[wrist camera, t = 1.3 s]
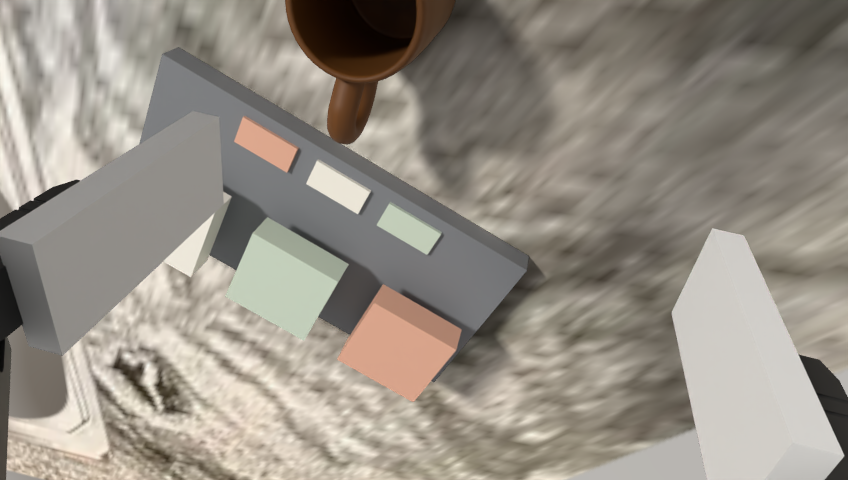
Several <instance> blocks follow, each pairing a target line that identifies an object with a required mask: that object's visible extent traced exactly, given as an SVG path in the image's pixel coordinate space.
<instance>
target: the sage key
mask: <svg viewBox="0 0 848 480" xmlns="http://www.w3.org/2000/svg"><path fill="white" fill-rule="evenodd" d="M348 265H349V264H348V263H346V262H344V261H342V260H341V259H339V258H337V257H336V256H334V255H332V254H330V253H329V252H327V251H325V250H323V249H322V248H320V247H318V246H317V245H315V244H313V243H311V242H310V241H308V240H306V239H304V238H303V237H301V236H299V235H298V234H296V233H294V232H292V231H291V230H289V229H287V228H285V227H284V226H282V225H280V224H279V223H277V222H275V221H273V220H272V219H270V218H268V217H267V218H266V219H265V220H264V221H263V222H262V223H261V225H260V226H259V227H258V228H257V229H256V230H255V231H254V232H253V233H252V236H251V238H250V240H249V243H248V245H247V247H246V250H245V252H244V254H243V256H242V259H241V261H240V263H239V266H238V268H237V270H236V273H235V275H234V277H233V280H232V282H231V284H230V287H229V289H228V291H227V293H226V296H225V297H227V298H229V299H231V300H232V301H234V302H236V303H238V304H239V305H241V306H243V307H245V308H247V309H248V310H250V311H252V312H254V313H255V314H257V315H259V316H261V317H263V318H264V319H266V320H268V321H270V322H272V323H273V324H275V325H277V326H279V327H280V328H282V329H284V330H286V331H288V332H289V333H291V334H293V335H295V336H296V337H298V338H300V339H302V340H305V338H306V337H307V335H308V333H309V332H310V330H311V328H312V327H313V325H314V323H315V322H316V320H317V318H318V316H319V315H320V313H321V311H322V310H323V308H324V306H325V304H326V303H327V301H328V299H329V297H330V296H331V294H332V292H333V291H334V289H335V287H336V285H337V284H338V282H339V280H340V279H341V277H342V275H343V273H344V272H345V270H346V268H347V267H348Z"/></svg>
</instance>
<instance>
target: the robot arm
mask: <svg viewBox="0 0 848 480" xmlns="http://www.w3.org/2000/svg"><path fill="white" fill-rule="evenodd" d="M223 205H224V197H223V179H222V161H221V143H220V125H219V117H217V116H213V115H208V114H204V113H199V112H195V111H192V112H191V113H189V114H187V115H186V116H184V117H183V118H181V119H179V120H178V121H176V122H174V123H173V124H171V125H170V126H168V127H166V128H165V129H163V130H162V131H160V132H158V133H157V134H155V135H154V136H152V137H150V138H149V139H147V140H145V141H144V142H142V143H141V144H139V145H137V146H136V147H134V148H133V149H131V150H129V151H128V152H126V153H125V154H123V155H121V156H120V157H118V158H117V159H115V160H113V161H112V162H110V163H108V164H107V165H105V166H104V167H102V168H100V169H99V170H97V171H96V172H94V173H92V174H91V175H89V176H88V177H86V178H84V179H83V180H81V181H80V180H74V181H71V182H68V183H65V184H61V185H58V186H55V187H52V188H51V189H49V190H47V191H46V192H44V193H42V194H41V195H39V196H37V197H36V198H34V201H29V202H27V203H26V204H24V205H22V206H21V207H19V210H14V211H12V212H11V213H9V214H7V215H6V216H4V217H2V218H1V219H0V480H6V464H7V440H8V417H9V393H10V391H9V390H10V369H11V347H10V344H9V341H8V338H7V336H8V335H10V334H11V333H12V332H13V331H15V330H16V329H17V328H18V327H20V325H22V326H23V329H24V332H25V336H26V339H27V342H28V345H29V346H30V347H33V348H37V349H40V350H44V351H48V352H51V353H55V354H58V355H62V356H63V355H64V354H65V353H66V352H67V351H68V350H69V349H70V348H71V347H72V346H73V345H74V344H75V343H77V342H78V341H79V340H80V339H81V338H82V337H83V336H84V335H85V334H86V333H87V332H88V331H89V330H90V329H91V328H93V327H94V326H95V325H96V324H97V323H98V322H99V321H100V320H101V319H102V318H103V317H104V316H105V315H106V314H107V313H108V312H110V311H111V310H112V309H113V308H114V307H115V306H116V305H117V304H118V303H119V302H120V301H121V300H122V299H123V298H124V297H126V296H127V295H128V294H129V293H130V292H131V291H132V290H133V289H134V288H135V287H136V286H137V285H138V284H139V283H140V282H142V281H143V280H144V279H145V278H146V277H147V276H148V275H149V274H150V273H151V272H152V271H153V270H154V269H155V268H156V267H158V266H159V265H160V264H161V263H162V262H163V261H164V260H165V259H166V258H167V257H168V256H169V255H170V254H171V253H172V252H173V251H175V250H176V249H177V248H178V247H179V246H180V245H181V244H182V243H183V242H184V241H185V240H186V239H187V238H188V237H189V236H191V235H192V234H193V233H194V232H195V231H196V230H197V229H198V228H199V227H200V226H201V225H202V224H203V223H204V222H205V221H207V220H208V219H209V218H210V217H211V216H212V215H213V214H214V213H215V212H216V211H217V210H218V209H219V208H220V207H221V206H223ZM672 318H673V322H674V327H675V332H676V337H677V341H678V346H679V351H680V355H681V360H682V365H683V370H684V374H685V379H686V384H687V389H688V393H689V398H690V403H691V407H692V412H693V417H694V422H695V426H696V431H697V435H698V440H699V445H700V450H701V455H702V459H703V464H704V469H705V473H706V478H707V480H848V397H847V395H846V393H845V391H844V389H843V387H842V385H841V383H840V381H839V380H838V379H837V378H836V377H835V376H834V375H833V374H832V373H831V371H830V370H829V369H828V368H827V367H826V366H825V365H824V364H823V363H822V362H821V361H820V360H818V359H814V358H810V357H806V356H802V355H798V353H797V351H796V348H795V346H794V344H793V342H792V340H791V337H790V335H789V333H788V331H787V329H786V326H785V324H784V322H783V320H782V318H781V316H780V313H779V311H778V309H777V307H776V305H775V302H774V300H773V298H772V296H771V294H770V291H769V289H768V287H767V285H766V283H765V280H764V278H763V276H762V274H761V272H760V269H759V267H758V265H757V263H756V261H755V259H754V256H753V254H752V252H751V250H750V248H749V245H748V243H747V241H746V239H745V237H744V235H740V234H735V233H731V232H727V231H722V230H718V229H713V228H712V230H711V232H710V234H709V236H708V238H707V240H706V242H705V244H704V246H703V248H702V251H701V253H700V255H699V257H698V259H697V261H696V263H695V265H694V267H693V269H692V271H691V273H690V275H689V277H688V279H687V282H686V284H685V286H684V288H683V290H682V292H681V294H680V296H679V298H678V300H677V302H676V304H675V306H674V308H673V311H672Z"/></svg>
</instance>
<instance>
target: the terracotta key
mask: <svg viewBox="0 0 848 480" xmlns="http://www.w3.org/2000/svg"><path fill="white" fill-rule="evenodd" d="M461 330H462V329H460V328H458V327H457V326H455V325H453V324H451V323H450V322H448V321H446V320H445V319H443V318H441V317H439V316H438V315H436V314H434V313H432V312H431V311H429V310H427V309H425V308H424V307H422V306H420V305H419V304H417V303H415V302H413V301H412V300H410V299H408V298H406V297H405V296H403V295H401V294H400V293H398V292H396V291H394V290H393V289H391V288H389V287H387V286H386V285H384V284H383V285H382V287H381V288H380V290H379V291H378V293H377V294H376V296H375V297H374V299H373V301H372V302H371V304H370V305H369V307H368V308H367V310H366V311H365V313H364V314H363V316H362V318H361V319H360V321H359V322H358V324H357V325H356V327H355V328H354V330H353V331H352V333H351V335H350V336H349V338H348V339H347V341H346V343H345V345H344V347H343V349H342V351H341V353H340V355H339V357H338V359H337V360H339V361H341V362H343V363H344V364H346V365H348V366H350V367H352V368H353V369H355V370H357V371H359V372H360V373H362V374H364V375H366V376H368V377H369V378H371V379H373V380H375V381H376V382H378V383H380V384H382V385H384V386H385V387H387V388H389V389H391V390H392V391H394V392H396V393H398V394H400V395H401V396H403V397H405V398H407V399H408V400H410V401H412V402H414V401H415V399H416V398H417V397H418V396H419V395H420V393H421V392H422V391H423V390H424V389H425V387H426V386H427V385H428V384H429V383H430V381H431V380H432V379H433V378H434V376H435V375H436V374H437V373H438V372H439V370H440V369H441V368H442V367H443V366H444V364H445V363H446V362H447V361H448V360H449V358H450V357H451V356H452V355H453V353H454V352H455V351H456V349H457V346H458V342H459V338H460V334H461Z"/></svg>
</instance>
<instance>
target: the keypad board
mask: <svg viewBox="0 0 848 480" xmlns="http://www.w3.org/2000/svg"><path fill="white" fill-rule="evenodd" d="M192 111H195V112H199V113H204V114H208V115H213V116H217V117H219V125H220V143H221V161H222V179H223V192H225V193H227V194H228V195H230V196H232V198H231V200H230V203H229V205H228V208H227V210H226V213H225V216H224V218H223V221H222V223H221V226H220V229H219V231H218V234H217V236H216V239H215V241H214V244H213V247H212V249H211V252H210V254H209V255H211V256H212V257H214V258H216V259H218V260H219V261H221V262H223V263H225V264H227V265H228V266H230V267H232V268H234V269H235V270H237V268H238V266H239V263H240V261H241V259H242V256H243V254H244V252H245V250H246V247H247V245H248V243H249V240H250V238H251V236H252V233H253V232H254V231H255V230H256V229H257V228H258V227H259V226H260V225H261V223H262V222H263V221H264V220H265V219H266V218H267V217H268V218H270V219H272V220H273V221H275V222H277V223H279V224H280V225H282V226H284V227H285V228H287V229H289V230H291V231H292V232H294V233H296V234H298V235H299V236H301V237H303V238H304V239H306V240H308V241H310V242H311V243H313V244H315V245H317V246H318V247H320V248H322V249H323V250H325V251H327V252H329V253H330V254H332V255H334V256H336V257H337V258H339V259H341V260H342V261H344V262H346V263H348V264H349V265H348V267H347V268H346V270H345V272H344V273H343V275H342V277H341V279H340V280H339V282H338V284H337V285H336V287H335V289H334V291H333V292H332V294H331V296H330V297H329V299H328V301H327V303H326V304H325V306H324V308H323V310H322V311H321V313H320V315H319V316H318V317H320V318H322V319H323V320H325V321H327V322H329V323H330V324H332V325H334V326H336V327H338V328H339V329H341V330H343V331H345V332H346V333H348V334H350V335H351V333H352V331H353V330H354V328H355V327H356V325H357V324H358V322H359V321H360V319H361V318H362V316H363V314H364V313H365V311H366V310H367V308H368V307H369V305H370V304H371V302H372V301H373V299H374V297H375V296H376V294H377V293H378V291H379V290H380V288H381V287H382V285H383V284H384V285H386V286H387V287H389V288H391V289H393V290H394V291H396V292H398V293H400V294H401V295H403V296H405V297H406V298H408V299H410V300H412V301H413V302H415V303H417V304H419V305H420V306H422V307H424V308H425V309H427V310H429V311H431V312H432V313H434V314H436V315H438V316H439V317H441V318H443V319H445V320H446V321H448V322H450V323H451V324H453V325H455V326H457V327H458V328H460V329H462V330H461V334H460V338H459V342H458V346H457V349H456V351H455V352H454V353H453V355H452V356H451V357H450V358H449V360H448V361H447V362H446V363H445V364H444V366H443V367H442V368H441V369H440V370H439V372H438V373H437V374H436V375H435V376H434V378H433V379H432V380H431V381H433V382H435V380H436V379H437V378H438V377H439V376H440V374H441V373H442V372H443V371H444V370H445V368H446V367H447V366H448V365H449V364H450V362H451V361H452V360H453V359H454V358H455V356H456V355H457V354H458V353H459V352H460V350H461V349H462V348H463V347H464V346H465V344H466V343H467V342H468V341H469V340H470V338H471V337H472V336H473V335H474V334H475V332H476V331H477V330H478V329H479V328H480V326H481V325H482V324H483V323H484V322H485V320H486V319H487V318H488V317H489V316H490V314H491V313H492V312H493V311H494V310H495V308H496V307H497V306H498V305H499V303H500V302H501V301H502V300H503V299H504V297H505V296H506V295H507V294H508V293H509V291H510V290H511V289H512V288H513V287H514V285H515V284H516V283H517V282H518V281H519V279H520V278H521V277H522V276H523V275H524V273H525V272H526V271H527V266H528V259H529V256H528V255H526V254H524V253H523V252H521V251H519V250H518V249H516V248H514V247H513V246H511V245H509V244H508V243H506V242H504V241H503V240H501V239H499V238H498V237H496V236H494V235H493V234H491V233H489V232H488V231H486V230H484V229H483V228H481V227H479V226H477V225H476V224H474V223H472V222H471V221H469V220H467V219H466V218H464V217H462V216H461V215H459V214H457V213H456V212H454V211H452V210H451V209H449V208H447V207H446V206H444V205H442V204H441V203H439V202H437V201H436V200H434V199H432V198H431V197H429V196H427V195H425V194H424V193H422V192H420V191H419V190H417V189H415V188H414V187H412V186H410V185H409V184H407V183H405V182H404V181H402V180H400V179H399V178H397V177H395V176H394V175H392V174H390V173H389V172H387V171H385V170H384V169H382V168H380V167H379V166H377V165H375V164H374V163H372V162H370V161H368V160H367V159H365V158H363V157H362V156H360V155H358V154H357V153H355V152H353V151H352V150H350V149H348V148H347V147H345V146H343V145H342V144H340V143H337V142H335V141H334V140H333V139H332V138H330V137H328V136H327V135H325V134H323V133H322V132H320V131H318V130H317V129H315V128H313V127H311V126H310V125H308V124H306V123H305V122H303V121H301V120H300V119H298V118H296V117H295V116H293V115H291V114H290V113H288V112H286V111H285V110H283V109H281V108H280V107H278V106H276V105H275V104H273V103H271V102H270V101H268V100H266V99H265V98H263V97H261V96H259V95H258V94H256V93H254V92H253V91H251V90H249V89H248V88H246V87H244V86H243V85H241V84H239V83H238V82H236V81H234V80H233V79H231V78H229V77H228V76H226V75H224V74H223V73H221V72H219V71H218V70H216V69H214V68H213V67H211V66H209V65H208V64H206V63H204V62H202V61H201V60H199V59H197V58H196V57H194V56H192V55H191V54H189V53H187V52H186V51H184V50H182V49H181V48H179V47H178V48H176V49H173V50H171V51H168V52H166V53H164V54H162V57H161V61H160V65H159V69H158V73H157V77H156V81H155V85H154V89H153V93H152V97H151V101H150V104H149V108H148V112H147V116H146V120H145V124H144V128H143V132H142V136H141V140H140V144H141V143H142V142H144V141H145V140H147V139H149V138H150V137H152V136H154V135H155V134H157V133H158V132H160V131H162V130H163V129H165V128H166V127H168V126H170V125H171V124H173V123H174V122H176V121H178V120H179V119H181V118H183V117H184V116H186V115H187V114H189V113H191V112H192Z"/></svg>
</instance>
